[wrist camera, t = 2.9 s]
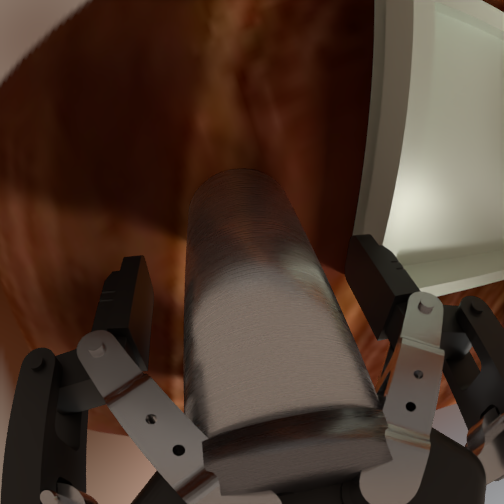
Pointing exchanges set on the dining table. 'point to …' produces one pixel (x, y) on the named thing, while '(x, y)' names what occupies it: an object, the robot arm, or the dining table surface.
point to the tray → (437, 142)
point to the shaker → (270, 348)
